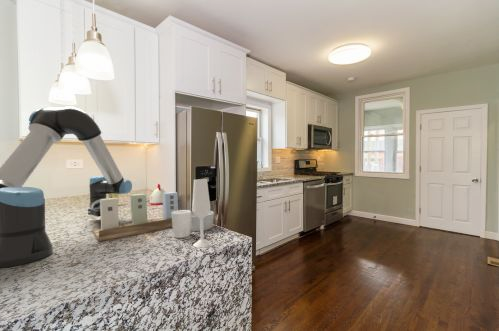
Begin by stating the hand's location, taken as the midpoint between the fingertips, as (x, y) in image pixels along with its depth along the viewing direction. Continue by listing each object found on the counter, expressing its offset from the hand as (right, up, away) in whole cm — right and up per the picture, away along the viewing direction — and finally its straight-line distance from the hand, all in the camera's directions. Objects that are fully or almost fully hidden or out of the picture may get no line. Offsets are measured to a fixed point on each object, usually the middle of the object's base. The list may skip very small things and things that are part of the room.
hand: (109, 215), depth 104 cm
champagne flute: (+43, -8, -15) cm, 47 cm away
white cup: (+33, -8, -4) cm, 34 cm away
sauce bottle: (-38, -8, +71) cm, 81 cm away
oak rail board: (+10, -8, +9) cm, 15 cm away
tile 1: (+1, -7, -2) cm, 7 cm away
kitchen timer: (-7, -8, +77) cm, 78 cm away
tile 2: (+8, -6, +10) cm, 15 cm away
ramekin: (+38, -8, +7) cm, 39 cm away
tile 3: (+22, -6, +14) cm, 27 cm away
